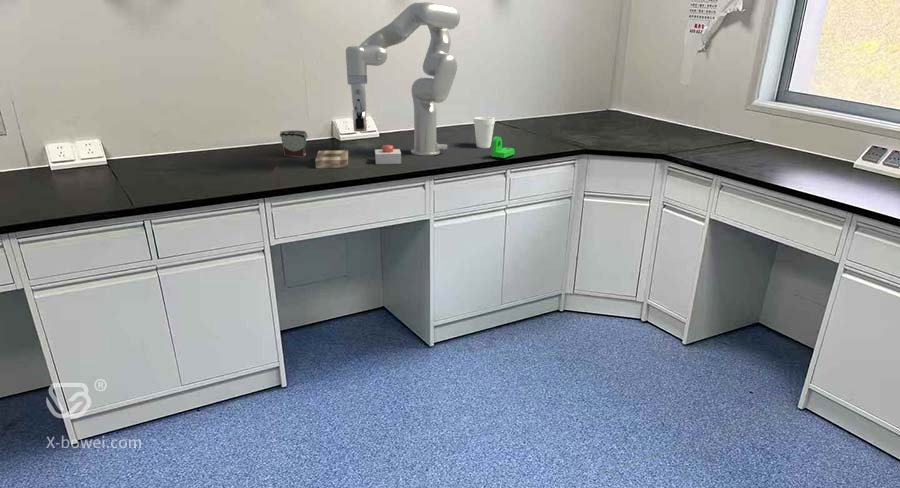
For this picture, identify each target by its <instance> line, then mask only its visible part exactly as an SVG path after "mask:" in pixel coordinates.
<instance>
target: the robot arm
mask: <svg viewBox="0 0 900 488" xmlns="http://www.w3.org/2000/svg"><path fill="white" fill-rule="evenodd" d="M460 20H461V16H460V13H459V11H458V9H456V8H455V7H453V6H449V5H443V4H438V3H433V2H426V1H425V2H414V3H411V4H409V5H408V6H407V7H406V8H405V9H404V10H403V11H402V12H400V13H399V15H397V17H395V18H394V19H393V20H392V21H391V22H390V23H389V24H387V25H386V26H384V27H381V28H380V29H379V30H377V31H376V32H375V31H374V33H372V34H371V35H368V37H367V38H366V39H365V40H364V41H363V42H361V44H359V46H357V45H355V46H352V45H351V46H347V47H346V48H345V62H346V75H347V76H346V77H347V78H346V79H347V85H350V91H351V101H352V107H353V110H354V111H355V110H356V109H357V110H356V111H355V112H356V119H355V120H356V129H364V118H363V109H365V111H367V97H366V85H368V72H367V69H368V68H367V66H375V67H377V66H381V65H384V64H385V63H386V61H387V59H388V53H387V51H386V49H387V48H389V47H392V46H395V45H398V44H401V43H403V42H405V41H406V40H407V39H408V38H409V37H410V36H411V35H412V34H413V33H414V32H415V31H416V30H417V29H419V28H420V27H421V26H427V27H428V30H429V34H430V40H429V41H430V42H429V46H428V48H427V52H426V55H425V57H424V60H423V63H422V70H423V73H424V74H426V75H427V76H429V77H420V78H419V77H418V78H417V79H416V80H414V82H413V83H412V85H411V97H412V103H413V119H414V120H413V124H414V125H413V127H414V128H413V129H414V130H413V132H414V134H413V139H414V141H413V142H414V144H413V145H414V149H410V154H412V155H415V156H424V157H425V156H436V155H439V154H440V153H441V150H447V149H448V144H444V143H442V144H441V143H438V142H437V108H436V104H441V103H444V102H445V101H446V100H447V98H448V96H449V95H450V92H451V89H452V86H453V83H454V81H455V78H456V74H457V71H458V63H457V60H456V58H455V57H454V56H453V55H452V54H450V53H449V52H450V47H451V42H452V41H451V36H450V33H449V30H454V29H456V28H457V27H458V26H459V24H460V22H461V21H460ZM432 77H433V78H432ZM435 103H436V104H435ZM361 109H362V110H361ZM361 115H362V116H361Z"/></svg>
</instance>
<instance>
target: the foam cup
mask: <svg viewBox="0 0 900 488" xmlns="http://www.w3.org/2000/svg"><path fill="white" fill-rule="evenodd" d="M495 123H496V119H495V117H492V116H476V117H473V124H474V134H475V135H474V136H475V142H476V143H475V145H476V148H480V149H489V148H491V147H492V140H493V134H494V129H495V128H494V127H495Z"/></svg>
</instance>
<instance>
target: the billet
mask: <svg viewBox="0 0 900 488" xmlns="http://www.w3.org/2000/svg"><path fill="white" fill-rule="evenodd" d="M356 110H357V109H356ZM356 110H355V111H356ZM361 110H362V109H361ZM355 111H354V109H352V120H353V122H352V123H353V132H358V133H359V132H361V133H362V132H366V131H367V113H366V111H367V110H366V111H365V109H363V118H364V129H356V120H355V119H356V112H355ZM361 116H362V115H361Z"/></svg>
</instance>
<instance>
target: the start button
mask: <svg viewBox="0 0 900 488" xmlns="http://www.w3.org/2000/svg"><path fill="white" fill-rule="evenodd" d="M381 147H382V148H381V149H382V151H383V152H393V149H394V145H391V144H387V145H386V144H385V145H382V146H381Z"/></svg>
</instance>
